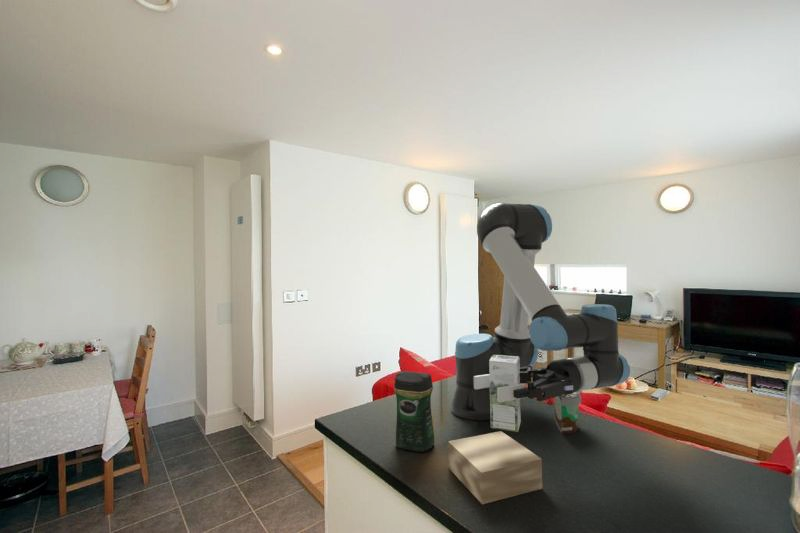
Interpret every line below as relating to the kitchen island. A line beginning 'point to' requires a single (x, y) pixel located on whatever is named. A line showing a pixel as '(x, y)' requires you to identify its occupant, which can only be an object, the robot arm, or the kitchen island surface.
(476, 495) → the oak plinth
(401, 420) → the coffee jar
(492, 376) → the syrup box
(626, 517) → the kitchen island surface
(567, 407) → the food container
